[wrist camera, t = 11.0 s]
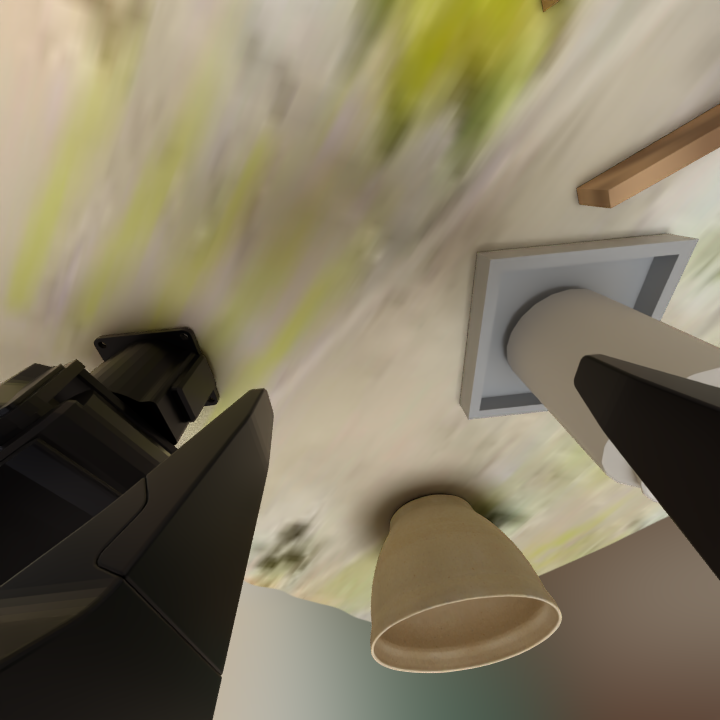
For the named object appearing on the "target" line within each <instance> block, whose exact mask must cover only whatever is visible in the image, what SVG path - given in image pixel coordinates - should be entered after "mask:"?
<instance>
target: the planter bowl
mask: <svg viewBox="0 0 720 720" xmlns="http://www.w3.org/2000/svg"><path fill="white" fill-rule="evenodd" d="M561 619H562V615H561V612H560V610H559V608H558V606H557V604H556V602H555V601H554V599H553V598H552V597H551V595H550V594H549V593H548V592H547V591H546V589H545V588H544V586H543V584H542V582H541V580H540V579H539V577H538V575H537V574H536V572H535V571H534V569H533V568H532V566H531V564H530V563H529V562H528V560H527V559H526V558H525V556H524V555H523V554H522V552H521V551H520V550H519V549H518V548H517V546H516V545H515V544H514V543H513V542H512V541H511V540H510V539H509V538H508V537H507V536H506V535H505V534H504V533H503V532H502V531H501V530H500V529H499V528H498V527H496V526H495V525H494V524H493V523H491V522H490V521H489V520H487V519H486V518H484V517H483V516H481V515H480V514H478V513H476V512H475V511H474V510H473V508H472V507H471V506H470V504H469V503H468V502H467V501H465V500H464V499H462V498H459V497H457V496H453V495H441V494H439V495H429V496H425V497H421V498H418V499H415V500H413V501H411V502H409V503H407V504H405V505H404V506H402V507H401V508H400V509H399V510H398V511H397V512H396V513H395V514H394V515H393V517H392V519H391V521H390V533H389V534H388V536H387V538H386V540H385V542H384V544H383V547H382V549H381V552H380V555H379V558H378V561H377V565H376V569H375V573H374V579H373V585H372V596H371V620H372V630H371V639H370V641H371V642H370V643H371V654H372V656H373V658H374V659H375V660H376V661H377V662H378V663H379V664H381V665H383V666H385V667H387V668H390V669H394V670H398V671H406V672H417V673H442V672H451V671H459V670H465V669H471V668H476V667H480V666H485V665H489V664H493V663H496V662H499V661H503V660H505V659H508V658H511V657H514V656H516V655H519V654H521V653H523V652H525V651H527V650H529V649H531V648H533V647H535V646H536V645H538V644H540V643H541V642H543V641H544V640H545V639H547V638H548V637H549V636H551V635H552V634H553V632H555V630H556V629H557V628H558V627H559V625H560V623H561Z"/></svg>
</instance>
